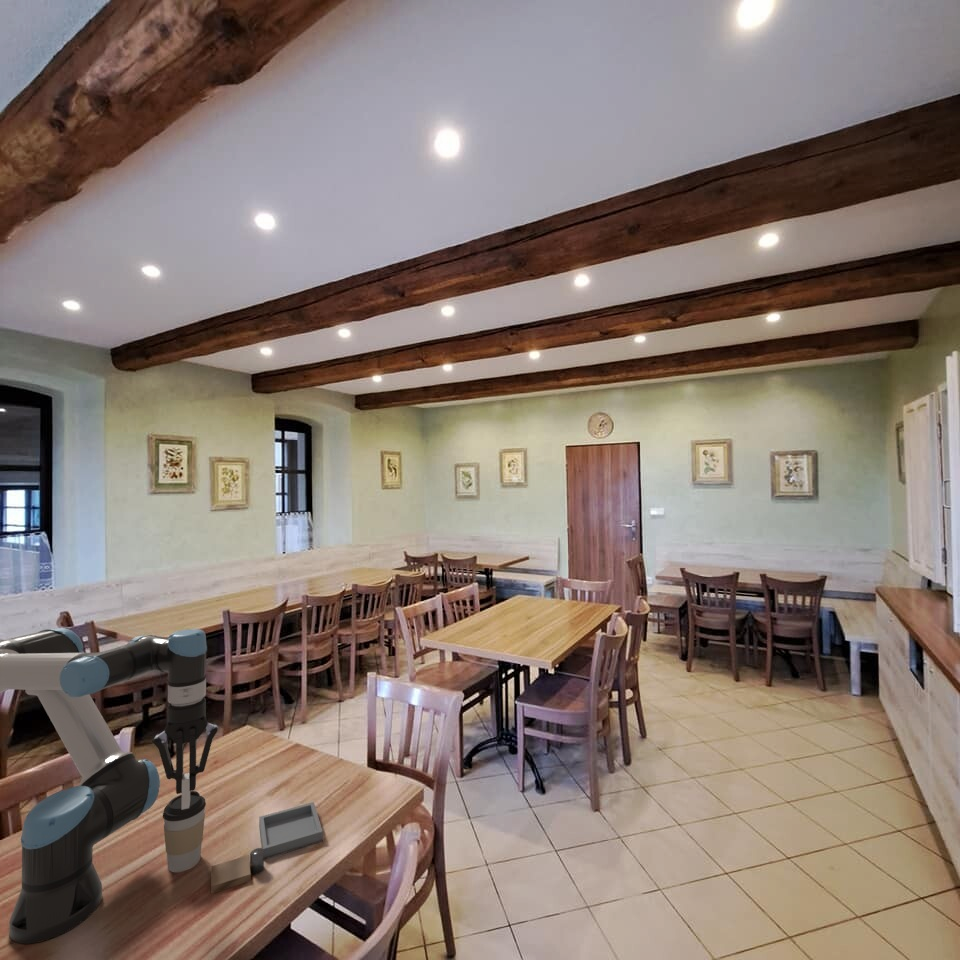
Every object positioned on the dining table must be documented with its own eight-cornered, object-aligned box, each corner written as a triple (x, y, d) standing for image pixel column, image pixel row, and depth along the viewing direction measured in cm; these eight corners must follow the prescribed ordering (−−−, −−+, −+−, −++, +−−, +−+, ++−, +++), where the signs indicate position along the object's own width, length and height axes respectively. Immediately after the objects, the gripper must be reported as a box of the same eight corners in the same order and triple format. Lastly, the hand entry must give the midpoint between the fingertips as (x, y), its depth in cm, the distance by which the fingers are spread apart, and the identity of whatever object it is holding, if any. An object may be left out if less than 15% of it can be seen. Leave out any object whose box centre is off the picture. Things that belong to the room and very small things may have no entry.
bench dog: (250, 876, 118) (250, 858, 118) (249, 867, 121) (249, 850, 121) (264, 871, 120) (264, 854, 120) (263, 863, 122) (263, 846, 122)
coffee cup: (186, 878, 118) (186, 812, 118) (152, 873, 119) (153, 808, 120) (214, 851, 127) (214, 790, 127) (182, 846, 128) (183, 786, 129)
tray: (263, 859, 124) (263, 849, 124) (259, 826, 136) (259, 816, 136) (322, 841, 130) (322, 831, 130) (313, 811, 142) (313, 802, 142)
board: (211, 895, 113) (211, 886, 113) (211, 874, 119) (211, 866, 119) (250, 883, 117) (250, 874, 117) (248, 863, 123) (249, 854, 123)
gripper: (150, 711, 110) (149, 823, 109) (218, 701, 115) (217, 807, 115) (155, 699, 116) (154, 804, 116) (219, 689, 122) (218, 789, 121)
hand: (185, 805), depth 115 cm, fingers closed
